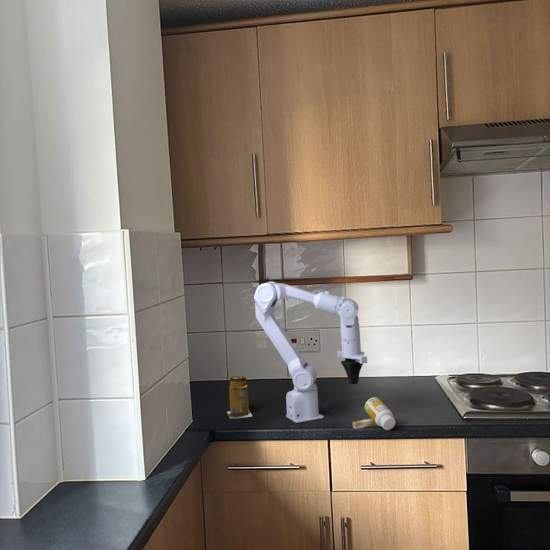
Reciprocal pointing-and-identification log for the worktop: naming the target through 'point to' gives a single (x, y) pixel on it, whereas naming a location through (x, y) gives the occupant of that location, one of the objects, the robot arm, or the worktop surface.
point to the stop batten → (364, 423)
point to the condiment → (238, 398)
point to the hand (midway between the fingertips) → (353, 383)
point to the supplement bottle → (380, 413)
